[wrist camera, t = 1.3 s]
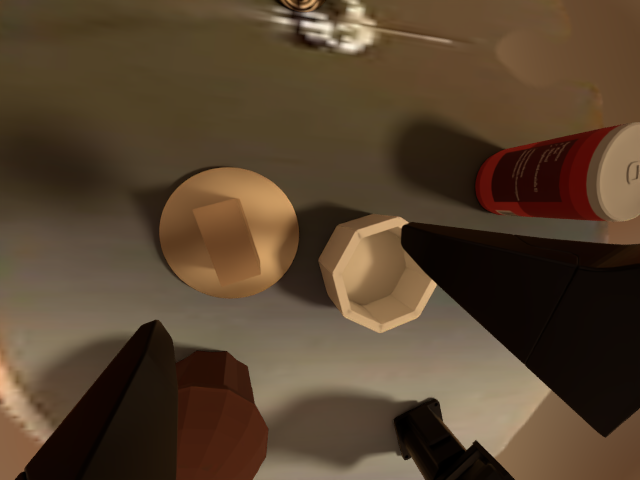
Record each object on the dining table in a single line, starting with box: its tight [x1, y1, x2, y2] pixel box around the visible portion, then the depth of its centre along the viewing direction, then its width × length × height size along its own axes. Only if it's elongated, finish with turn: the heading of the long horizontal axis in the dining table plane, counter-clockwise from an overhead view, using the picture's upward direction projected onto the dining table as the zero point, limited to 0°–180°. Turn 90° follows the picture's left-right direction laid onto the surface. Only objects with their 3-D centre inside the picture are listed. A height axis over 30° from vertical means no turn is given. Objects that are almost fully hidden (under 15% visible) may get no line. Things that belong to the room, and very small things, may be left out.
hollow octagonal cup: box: [318, 214, 437, 333], centre depth 24 cm, size 10×10×5 cm
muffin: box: [175, 351, 268, 480], centre depth 20 cm, size 12×11×10 cm
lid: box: [159, 167, 299, 298], centre depth 21 cm, size 12×12×6 cm
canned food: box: [475, 122, 640, 221], centre depth 24 cm, size 8×8×11 cm
